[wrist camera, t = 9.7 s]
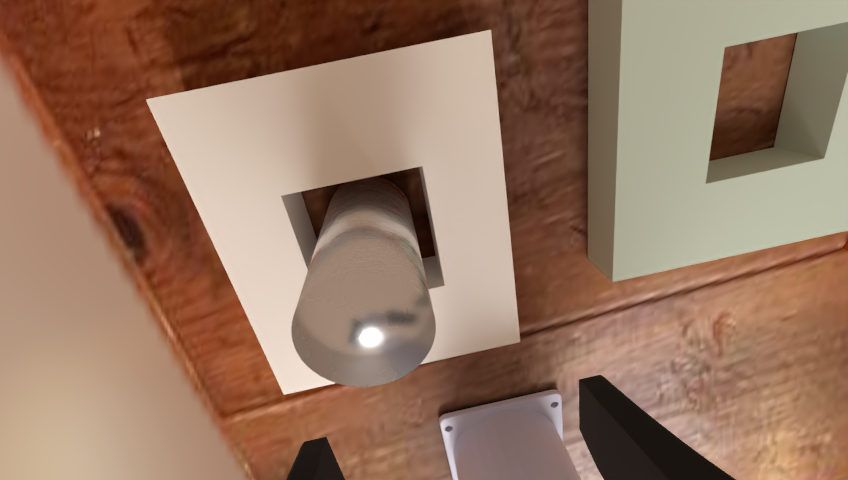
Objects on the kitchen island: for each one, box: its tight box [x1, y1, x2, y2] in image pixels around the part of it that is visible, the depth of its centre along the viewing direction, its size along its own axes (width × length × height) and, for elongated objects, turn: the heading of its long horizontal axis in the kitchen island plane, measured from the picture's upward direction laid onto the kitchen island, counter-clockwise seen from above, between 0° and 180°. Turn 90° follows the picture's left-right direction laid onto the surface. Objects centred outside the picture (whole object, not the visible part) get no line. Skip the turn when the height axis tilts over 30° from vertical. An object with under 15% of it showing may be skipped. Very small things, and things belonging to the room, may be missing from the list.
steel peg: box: [291, 176, 436, 387], centre depth 15 cm, size 4×4×9 cm
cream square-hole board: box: [146, 30, 520, 395], centre depth 18 cm, size 14×12×3 cm
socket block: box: [588, 0, 848, 282], centre depth 18 cm, size 14×14×2 cm
